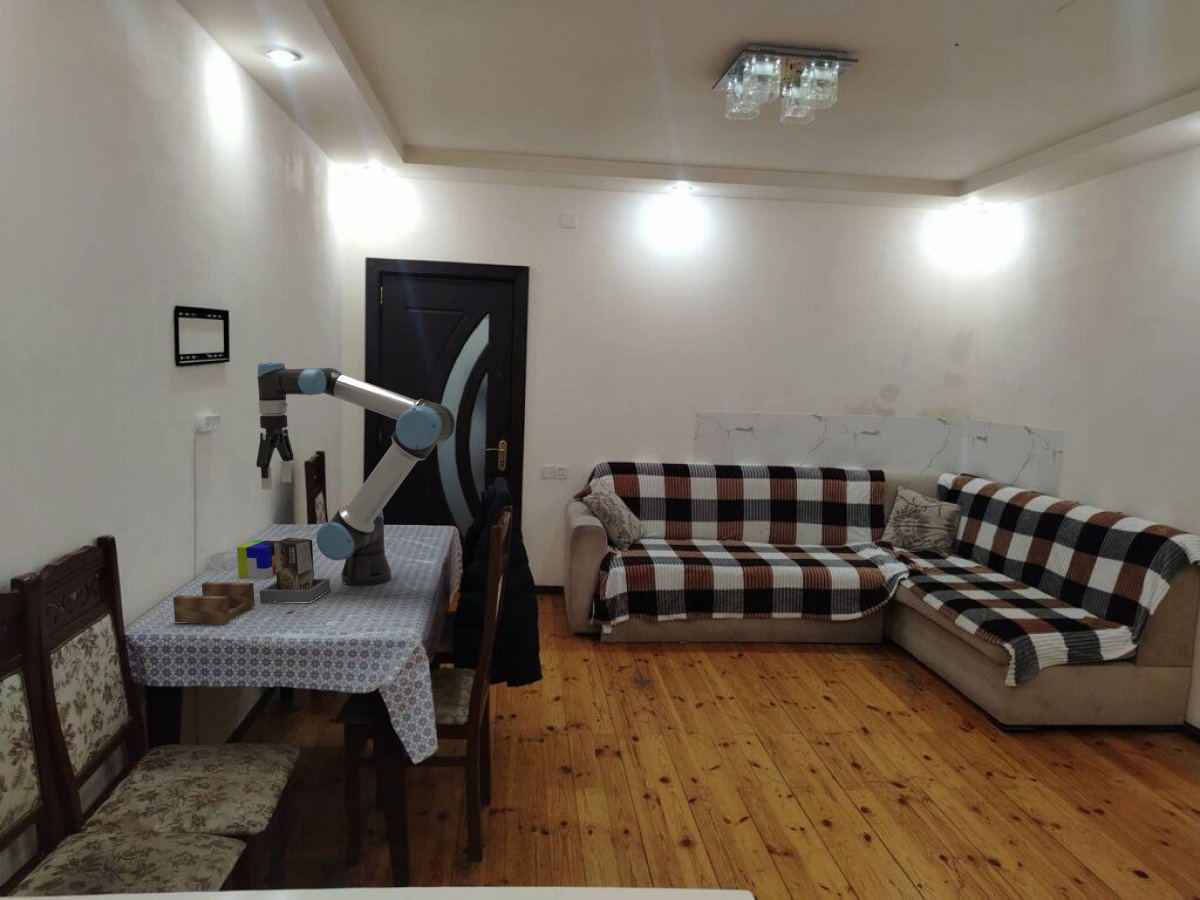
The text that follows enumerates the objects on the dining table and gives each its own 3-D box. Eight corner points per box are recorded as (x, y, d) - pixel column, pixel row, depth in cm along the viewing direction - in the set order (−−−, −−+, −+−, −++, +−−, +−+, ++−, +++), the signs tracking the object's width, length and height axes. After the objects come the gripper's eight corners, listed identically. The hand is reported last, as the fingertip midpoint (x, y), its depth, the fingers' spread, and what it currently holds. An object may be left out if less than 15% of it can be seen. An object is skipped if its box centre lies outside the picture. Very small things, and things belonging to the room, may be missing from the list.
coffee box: (316, 593, 238) (313, 539, 237) (299, 599, 233) (296, 543, 231) (293, 589, 242) (290, 536, 241) (276, 595, 237) (273, 541, 235)
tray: (330, 590, 243) (329, 578, 243) (310, 603, 230) (310, 591, 230) (282, 589, 244) (281, 578, 244) (260, 602, 232) (259, 590, 231)
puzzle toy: (266, 579, 257) (264, 548, 256) (238, 577, 259) (236, 547, 258) (285, 571, 267) (283, 541, 266) (257, 569, 269) (256, 540, 268)
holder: (254, 607, 228) (253, 582, 227) (225, 624, 213) (223, 598, 212) (207, 606, 229) (205, 582, 228) (174, 623, 214) (173, 597, 213)
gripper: (267, 417, 227) (271, 492, 229) (302, 411, 252) (305, 479, 254) (241, 417, 227) (245, 492, 230) (278, 411, 252) (282, 479, 254)
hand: (277, 485), depth 242 cm, fingers open, 13 cm apart
